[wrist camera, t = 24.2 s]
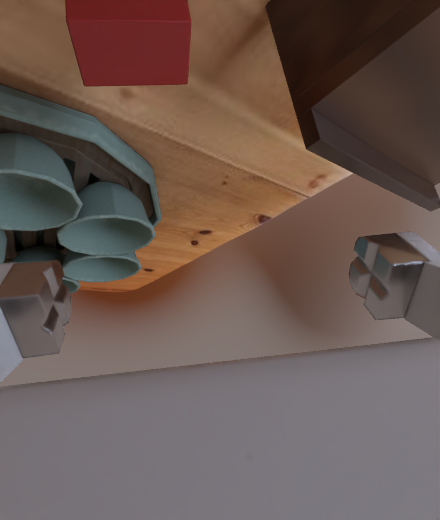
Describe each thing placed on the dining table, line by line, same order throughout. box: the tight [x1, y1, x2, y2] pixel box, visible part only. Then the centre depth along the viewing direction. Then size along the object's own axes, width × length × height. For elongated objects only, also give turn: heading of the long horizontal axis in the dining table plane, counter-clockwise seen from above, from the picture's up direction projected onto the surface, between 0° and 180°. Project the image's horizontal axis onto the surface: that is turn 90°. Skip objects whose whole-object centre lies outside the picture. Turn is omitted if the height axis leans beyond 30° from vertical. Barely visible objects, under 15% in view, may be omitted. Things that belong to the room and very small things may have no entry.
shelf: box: [265, 0, 440, 211], centre depth 29 cm, size 12×22×14 cm, turn 50°
